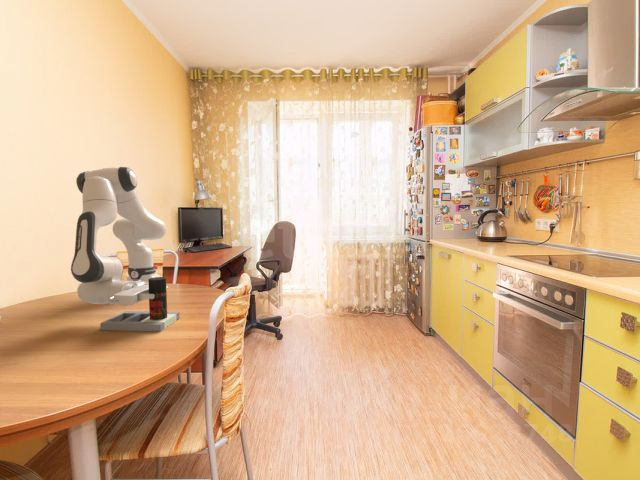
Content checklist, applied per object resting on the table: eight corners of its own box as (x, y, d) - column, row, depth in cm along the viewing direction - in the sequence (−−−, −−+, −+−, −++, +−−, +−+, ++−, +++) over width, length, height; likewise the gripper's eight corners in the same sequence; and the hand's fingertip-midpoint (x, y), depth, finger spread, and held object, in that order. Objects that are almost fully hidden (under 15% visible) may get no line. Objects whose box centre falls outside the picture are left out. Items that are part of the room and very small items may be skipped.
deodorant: (147, 317, 119) (145, 278, 118) (163, 314, 123) (162, 276, 122) (153, 321, 115) (152, 281, 114) (170, 317, 120) (168, 278, 118)
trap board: (125, 317, 127) (125, 311, 127) (179, 318, 126) (179, 312, 126) (100, 330, 113) (100, 323, 113) (160, 331, 112) (160, 324, 112)
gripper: (104, 291, 108) (143, 292, 108) (139, 278, 129) (173, 279, 128) (104, 309, 109) (144, 310, 108) (140, 294, 129) (173, 294, 129)
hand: (160, 293), depth 118 cm, fingers closed on deodorant, 6 cm apart
